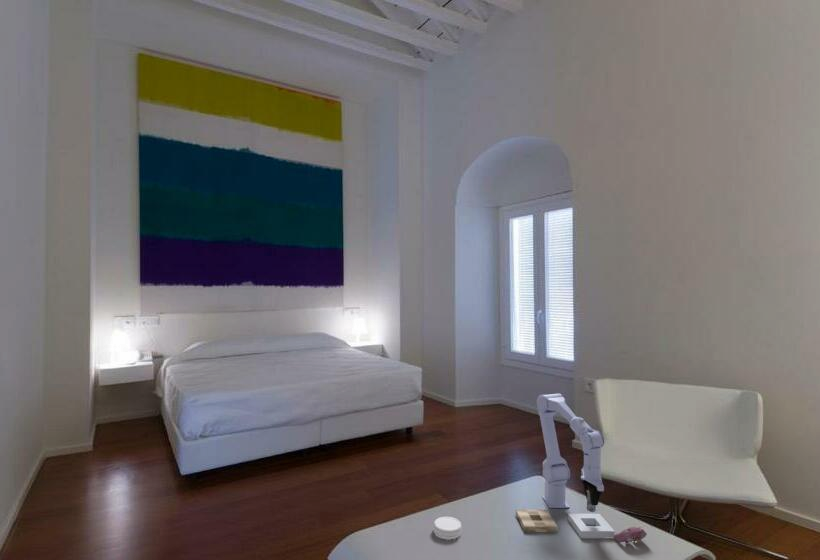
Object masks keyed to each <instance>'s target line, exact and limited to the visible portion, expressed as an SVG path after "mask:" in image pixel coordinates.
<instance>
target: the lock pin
mask: <svg viewBox="0 0 820 560" xmlns="http://www.w3.org/2000/svg"><path fill="white" fill-rule="evenodd" d="M596 506H597V505H591V501H590V493H589V490H588V489H587V498H586V510H587V511H588V512H591V513H596Z"/></svg>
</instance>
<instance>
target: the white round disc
mask: <svg viewBox="0 0 820 560" xmlns="http://www.w3.org/2000/svg"><path fill="white" fill-rule="evenodd" d="M434 533H435V534H434ZM433 534H434V535H435V536H436V537H437V538H439V539H441V538H442V540H444V539H446V540H445V541H451V539H453V540H456V538H457V539H459V538H460V537H461V535H462V523H461V521H460V520H459V519H458V518H455V517H453V516H440V517H438V518H436V519H435V520H434V522H433ZM459 536H460V537H459Z"/></svg>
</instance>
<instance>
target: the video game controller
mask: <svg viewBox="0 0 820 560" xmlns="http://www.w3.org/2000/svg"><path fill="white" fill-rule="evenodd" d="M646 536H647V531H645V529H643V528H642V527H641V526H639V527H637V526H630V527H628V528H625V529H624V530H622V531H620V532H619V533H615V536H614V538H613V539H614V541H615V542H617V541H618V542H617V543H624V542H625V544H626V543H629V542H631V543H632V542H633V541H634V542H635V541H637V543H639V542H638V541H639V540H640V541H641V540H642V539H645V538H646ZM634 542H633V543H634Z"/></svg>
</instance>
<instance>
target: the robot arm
mask: <svg viewBox="0 0 820 560" xmlns="http://www.w3.org/2000/svg"><path fill="white" fill-rule="evenodd" d="M535 402H536V408H537V412H538V415H539V419H540V420H539V421H540V425H541V430H542V435H543V436H542V437H543V441H544V446H545V453H546V458H545V459H544V460H543V462H542V476H543V479H544V480H545V481H544V495H542V498H543V500H544V501H545V503H546V505H547V506H548V507H549V508H550V509H569V508H570V506H569V504H568V503H567V502H566V483H568V480H569V479H570V477H571V471H570V467H568V463H567V460H566V459H564V458H563V457H562V456H561V453H560V448H559V442H558V437H557V432H556V425H555V421H554V417H555V415H556V414H557V413H559V414H560V415H561V416H562V417H563V418H564V419H566V421H567V422H569V427H570V428H571V430H572V431H573V432H574V433H575V435H577V436H578V438H579V441H580V444H581V446H582V452H583V468H581V475H580V481H581V484H582V486H583V490H584V493H585V494H584V495H585V497H586V499H587V489H588V490H589V493H590V501H591V505H596V506H598V505H599V502H600V498H601V495H602V494H603V492H604V491H605V486H604V484H603V481H602V478H601V475H602V474H601V471H602V469H601V467H602V466H601V464H602V463H601V461H602V460H601V455H602V454H601V451H602V449H601V448H602V447H604V445H605V438H604V435H603V434H602V432H601V431H600V430H595V429H593V428H592V427H591V426H590V425H589V424H588V423H587V422H586V421H585V419H584V418H583V417H580V416H576V414H575V413H574V411H572V410H571V408H570V407H569V406H568V405H567V403H566V399H565V397H563V395H562V394H561V393H558V392H556V393H552V394H551V393H550V394H539V395H538V397H537V398H536V401H535Z"/></svg>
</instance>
